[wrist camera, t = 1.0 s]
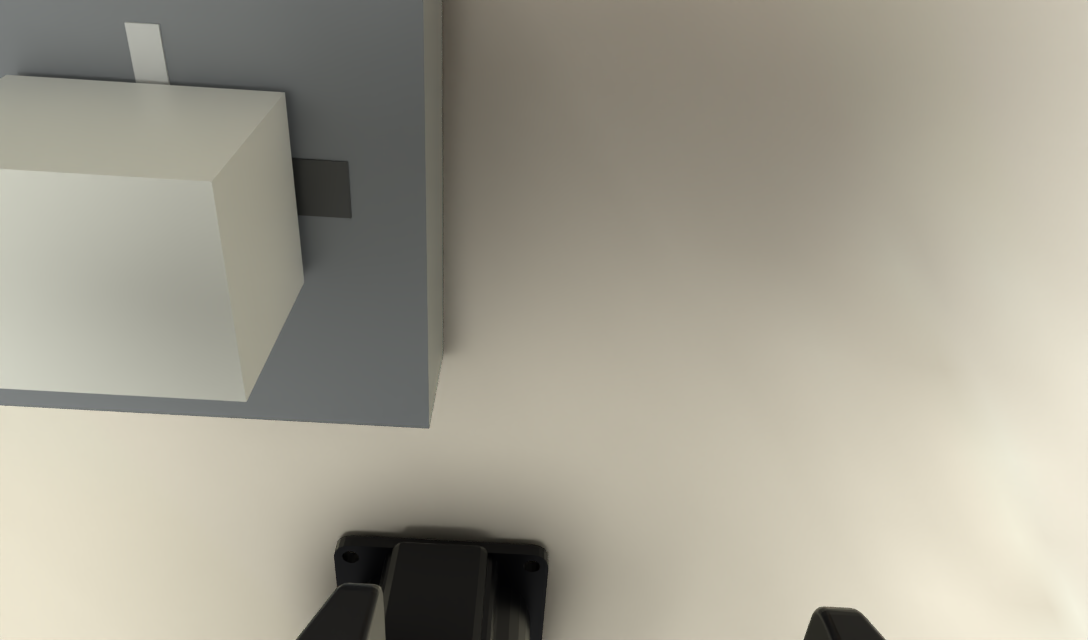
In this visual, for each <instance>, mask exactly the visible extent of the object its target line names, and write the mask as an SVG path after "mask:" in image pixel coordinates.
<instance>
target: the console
mask: <svg viewBox="0 0 1088 640" xmlns="http://www.w3.org/2000/svg"><path fill="white" fill-rule="evenodd" d="M5 75H18V76H34V77H50V78H66V79H82V80H97V81H113V82H129V83H145V84H161V85H177V86H193V87H209V88H225V89H241V90H257V91H272V92H285V98H286V108H287V118H288V127H289V137H290V147H291V157H292V166H293V176H294V186H295V196H296V205H297V215H298V225H299V235H300V245H301V254H302V264H303V274H304V284H303V286H302V288H301V290H300V292H299V294H298V296H297V298H296V300H295V302H294V304H293V307H292V309H291V311H290V313H289V315H288V317H287V319H286V321H285V323H284V325H283V327H282V329H281V331H280V333H279V335H278V338H277V340H276V342H275V344H274V346H273V348H272V350H271V352H270V354H269V356H268V358H267V360H266V362H265V364H264V367H263V369H262V371H261V373H260V375H259V377H258V379H257V381H256V383H255V385H254V387H253V389H252V391H251V393H250V395H249V398H248V400H247V402H239V401H221V400H202V399H184V398H166V397H147V396H129V395H111V394H93V393H74V392H56V391H38V390H19V389H1V388H0V405H5V406H24V407H42V408H60V409H79V410H97V411H116V412H134V413H153V414H171V415H190V416H208V417H227V418H245V419H264V420H282V421H301V422H319V423H338V424H356V425H374V426H393V427H411V428H429V427H430V422H431V416H432V411H433V406H434V401H435V395H436V390H437V385H438V380H439V374H440V369H441V364H442V359H443V115H442V0H0V78H2V77H4V76H5Z"/></svg>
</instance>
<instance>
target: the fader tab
mask: <svg viewBox="0 0 1088 640" xmlns="http://www.w3.org/2000/svg"><path fill="white" fill-rule="evenodd" d="M303 284H304V274H303V264H302V254H301V245H300V235H299V225H298V215H297V205H296V196H295V186H294V176H293V166H292V157H291V147H290V137H289V127H288V118H287V108H286V98H285V92H272V91H257V90H241V89H225V88H209V87H193V86H177V85H161V84H145V83H129V82H113V81H97V80H82V79H66V78H50V77H34V76H18V75H5V76H4V77H2V78H0V388H1V389H19V390H38V391H56V392H74V393H93V394H111V395H129V396H147V397H166V398H184V399H202V400H221V401H239V402H247V400H248V398H249V395H250V393H251V391H252V389H253V387H254V385H255V383H256V381H257V379H258V377H259V375H260V373H261V371H262V369H263V367H264V364H265V362H266V360H267V358H268V356H269V354H270V352H271V350H272V348H273V346H274V344H275V342H276V340H277V338H278V335H279V333H280V331H281V329H282V327H283V325H284V323H285V321H286V319H287V317H288V315H289V313H290V311H291V309H292V307H293V304H294V302H295V300H296V298H297V296H298V294H299V292H300V290H301V288H302V286H303Z"/></svg>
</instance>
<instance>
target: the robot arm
mask: <svg viewBox="0 0 1088 640" xmlns="http://www.w3.org/2000/svg"><path fill="white" fill-rule="evenodd" d="M349 551H352V552H355V553H352V552H349ZM532 560H533V561H536V562H530V561H532ZM334 561H335V571H336V580H337V589H336V590H335V591H334V592H333V593H332V595H331V596H330V597H329V598H328V600H327V601H326V602H325V604H324V605H323V606H322V607H321V609H320V610H319V611H318V612H317V614H316V615H315V616H314V617H313V619H312V620H311V621H310V622H309V624H308V625H307V626H306V628H305V629H304V630H303V631H302V633H301V634H300V635H299V636H298V638H297V639H296V640H542V630H543V619H544V609H545V598H546V587H547V576H548V553H547V551H546V550H545V549H544V548H542V547H540V546H536V545H526V544H507V543H487V542H468V541H448V540H429V539H409V538H389V537H370V536H345V537H343V538H341V539H340V540H339V541H338V543H337V546H336V550H335V554H334ZM804 640H885V638H884V637H883V636H882V635H881V634H880V633H879V632H878V631H877V629H876V628H875V627H874V626H873V625H872V624H871V623H870V622H869V620H868V619H867V618H866V617H865V616H864V615H863V614H862V613H860V612H859V611H857V610H855V609H852V608H841V607H819V608H818V609H816V610H815V611H814V613H813V615H812V617H811V620H810V623H809V626H808V628H807V631H806V634H805V637H804Z"/></svg>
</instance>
